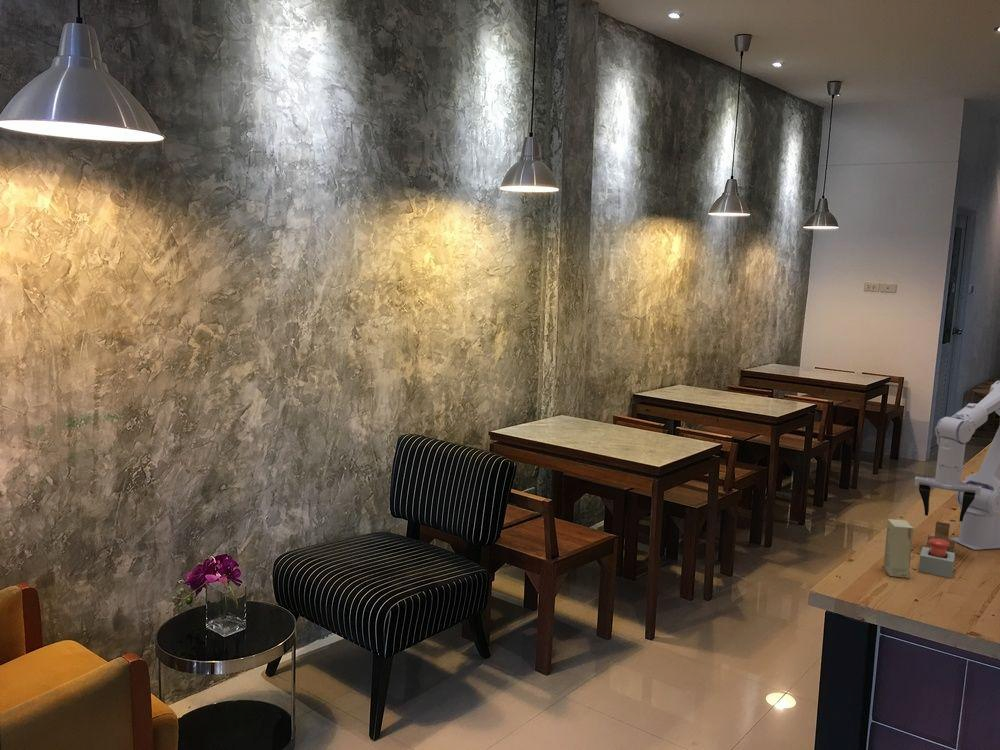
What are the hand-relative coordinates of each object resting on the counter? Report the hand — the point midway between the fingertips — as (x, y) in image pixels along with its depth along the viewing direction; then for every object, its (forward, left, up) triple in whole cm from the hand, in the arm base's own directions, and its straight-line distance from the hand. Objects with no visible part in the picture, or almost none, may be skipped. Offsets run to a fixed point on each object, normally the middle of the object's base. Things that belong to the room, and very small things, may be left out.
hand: (943, 517), depth 205 cm
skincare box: (+21, +9, -10) cm, 25 cm away
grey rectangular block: (+10, +10, -9) cm, 17 cm away
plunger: (+10, +10, -7) cm, 15 cm away
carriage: (0, 0, -9) cm, 9 cm away
